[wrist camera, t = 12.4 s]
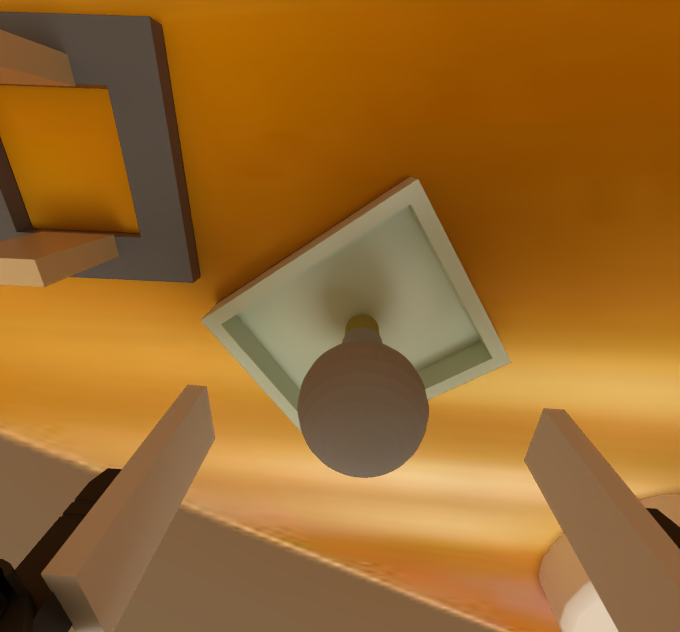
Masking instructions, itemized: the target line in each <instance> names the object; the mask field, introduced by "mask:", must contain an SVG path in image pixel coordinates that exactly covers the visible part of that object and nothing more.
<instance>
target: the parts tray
mask: <svg viewBox="0 0 680 632" xmlns="http://www.w3.org/2000/svg"><path fill="white" fill-rule="evenodd" d="M360 314H364V315H368V316H371V317H372V318H374V319H375V320H376V322H377V324H378V326H379V336H380V337H381V339H382V343H383V344H385V345H387V346H389V347H391V348H393V349H395V350H397V351H398V352H400V353H401V354H402V355H404V356H405V357H406V358H407V359H408V360H409V361H410V363H411V364H412V365H413V367H414V368H415V370H416V371H417V372H418V374H419V376H420V377H421V379H422V381H423V384H424V386H425V391H426V395H427V400H429V399H431V398H433V397H435V396H437V395H440V394H442V393H444V392H446V391H449V390H451V389H453V388H455V387H457V386H460V385H462V384H464V383H466V382H468V381H471V380H473V379H475V378H477V377H479V376H482V375H484V374H486V373H488V372H491V371H493V370H495V369H497V368H499V367H502V366H504V365H506V364H508V363H510V362H511V361H510V359H509V357H508V355H507V353H506V351H505V349H504V347H503V345H502V343H501V341H500V339H499V337H498V335H497V333H496V331H495V329H494V327H493V325H492V323H491V321H490V319H489V317H488V315H487V313H486V311H485V309H484V308H483V306H482V304H481V302H480V300H479V298H478V296H477V294H476V292H475V290H474V288H473V286H472V284H471V282H470V280H469V278H468V276H467V274H466V272H465V270H464V268H463V266H462V264H461V262H460V260H459V258H458V256H457V254H456V252H455V250H454V248H453V246H452V244H451V242H450V241H449V239H448V237H447V235H446V233H445V231H444V229H443V227H442V225H441V223H440V221H439V219H438V217H437V215H436V213H435V211H434V209H433V207H432V205H431V203H430V201H429V199H428V197H427V195H426V193H425V191H424V189H423V187H422V185H421V183H420V181H419V179H417V178H414V177H408V178H407V179H405V180H403V181H402V182H400V183H399V184H397V185H396V186H394V187H393V188H391V189H390V190H388V191H387V192H385V193H384V194H382V195H381V196H379V197H378V198H376V199H375V200H373V201H372V202H370V203H369V204H367V205H365V206H364V207H362V208H361V209H359V210H358V211H356V212H355V213H353V214H352V215H350V216H349V217H347V218H346V219H344V220H343V221H341V222H340V223H338V224H337V225H335V226H334V227H332V228H331V229H329V230H327V231H326V232H324V233H323V234H321V235H320V236H318V237H317V238H315V239H314V240H312V241H311V242H309V243H308V244H306V245H305V246H303V247H302V248H300V249H299V250H297V251H296V252H294V253H293V254H291V255H289V256H288V257H286V258H285V259H283V260H282V261H280V262H279V263H277V264H276V265H274V266H273V267H271V268H270V269H268V270H267V271H265V272H264V273H262V274H261V275H259V276H258V277H256V278H255V279H253V280H251V281H250V282H248V283H247V284H245V285H244V286H242V287H241V288H239V289H238V290H236V291H235V292H233V293H232V294H230V295H229V296H227V297H226V298H224V299H223V300H221V301H220V302H218V303H217V304H216V305H215V306H214V307H213V308H212V309H211V310H210V311H209V312H208V313H207V314H206V315H205V316H204V317H203V318H202V320H201V321H202V323H203V324H204V325H205V326H206V327H207V328H208V329H209V330H210V331H211V333H212V334H213V335H214V336H215V337H216V338H217V339H218V340H219V341H220V342H221V344H222V345H223V346H224V347H225V348H226V349H227V350H228V351H229V352H230V354H231V355H232V356H233V357H234V358H235V359H236V360H237V361H238V362H239V364H240V365H241V366H242V367H243V368H244V369H245V370H246V371H247V372H248V374H249V375H250V376H251V377H252V378H253V379H254V380H255V381H256V382H257V383H258V385H259V386H260V387H261V388H262V389H263V390H264V391H265V392H266V393H267V395H268V396H269V397H270V398H271V399H272V400H273V401H274V402H275V403H276V405H277V406H278V407H279V408H280V409H281V410H282V411H283V412H284V413H285V415H286V416H287V417H288V418H289V419H290V420H291V421H292V422H293V423H294V424H295V426H296V427H297V428H298V429H299V430H300V431H301V428H300V423H299V418H298V412H297V405H298V399H299V394H300V389H301V385H302V382H303V379H304V377H305V375H306V374H307V372H308V371H309V369H310V368H311V366H312V365H313V363H314V362H315V361H316V360H317V359H318V358H319V357H320V356H321V355H322V354H323V353H325V352H326V351H328V350H329V349H331V348H333V347H335V346H337V345H339V344H342V340H343V338H344V336H345V329H346V325H347V323H348V321H349V320H350V319H351V318H352V317H354V316H356V315H360ZM301 432H302V431H301Z"/></svg>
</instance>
